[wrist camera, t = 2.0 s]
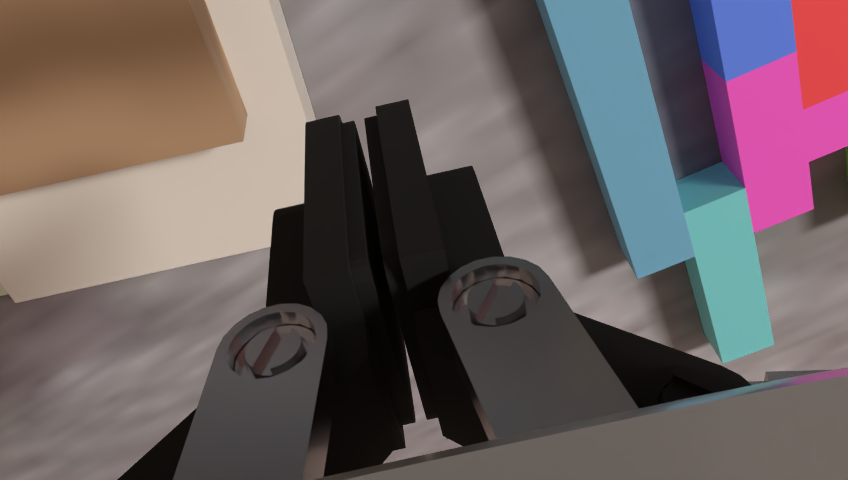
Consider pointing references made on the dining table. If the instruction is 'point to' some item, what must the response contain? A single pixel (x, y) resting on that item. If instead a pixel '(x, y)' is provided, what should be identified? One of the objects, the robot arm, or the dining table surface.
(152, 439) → the dining table surface
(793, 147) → the tetris game
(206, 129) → the tile
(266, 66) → the board
